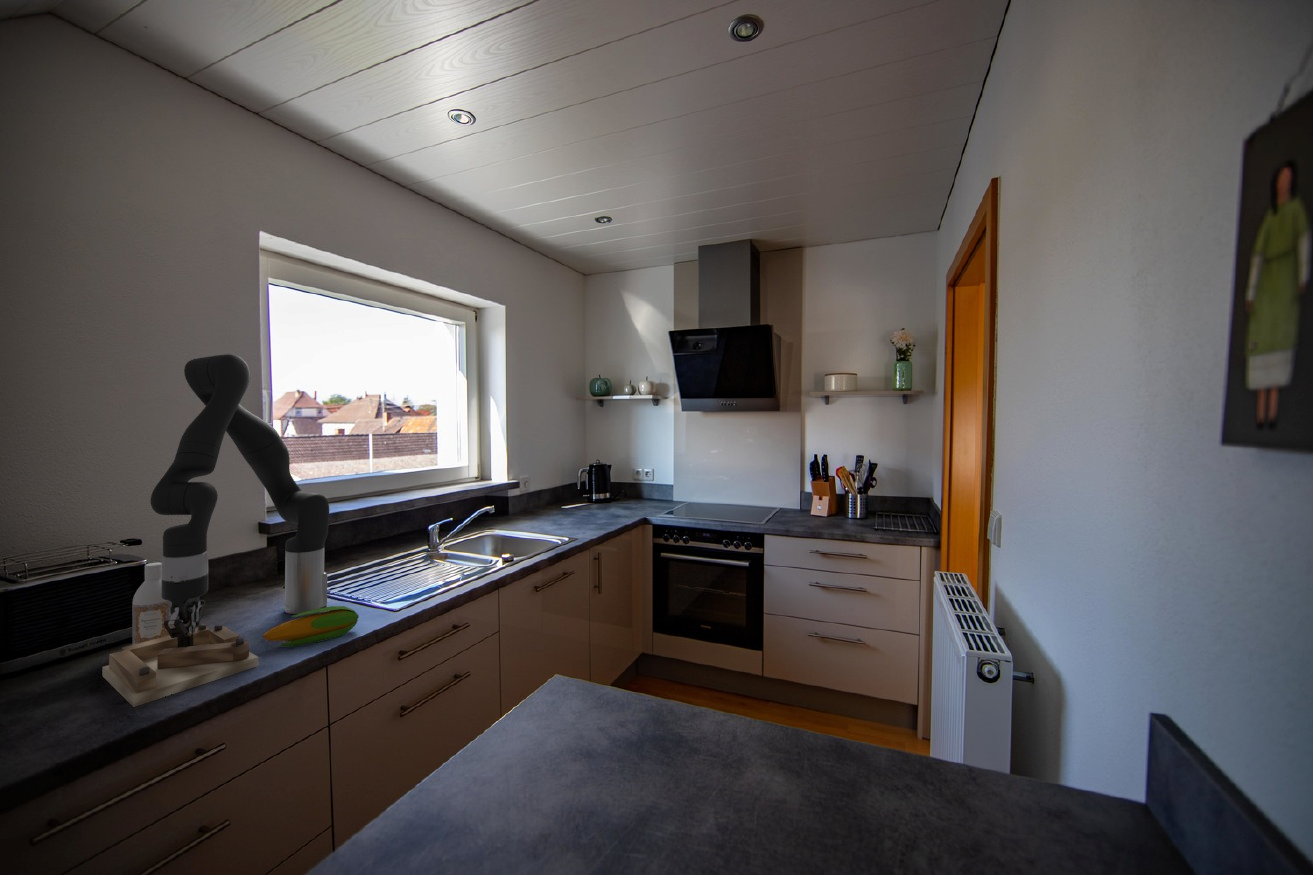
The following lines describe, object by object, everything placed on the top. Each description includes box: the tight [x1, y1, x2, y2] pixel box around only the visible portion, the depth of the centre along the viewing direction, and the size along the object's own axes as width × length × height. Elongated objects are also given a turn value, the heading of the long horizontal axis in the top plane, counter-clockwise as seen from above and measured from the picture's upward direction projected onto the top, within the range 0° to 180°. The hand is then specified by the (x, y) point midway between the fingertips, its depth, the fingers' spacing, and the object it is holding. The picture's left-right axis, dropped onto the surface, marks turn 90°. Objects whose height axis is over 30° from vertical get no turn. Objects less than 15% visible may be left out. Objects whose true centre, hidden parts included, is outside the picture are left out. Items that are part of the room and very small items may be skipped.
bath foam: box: [131, 562, 172, 645], centre depth 121 cm, size 7×7×20 cm
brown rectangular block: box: [157, 636, 250, 669], centre depth 112 cm, size 15×3×4 cm, turn 111°
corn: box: [262, 605, 359, 648], centre depth 129 cm, size 7×8×20 cm
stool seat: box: [101, 623, 259, 708], centre depth 112 cm, size 20×20×6 cm
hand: (185, 651), depth 114 cm, fingers closed
